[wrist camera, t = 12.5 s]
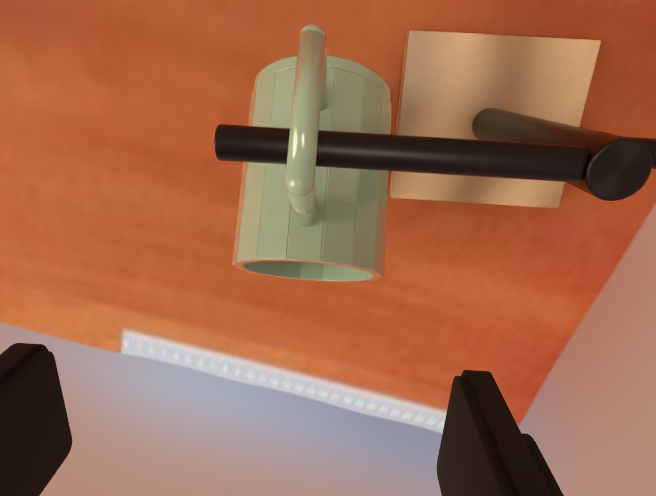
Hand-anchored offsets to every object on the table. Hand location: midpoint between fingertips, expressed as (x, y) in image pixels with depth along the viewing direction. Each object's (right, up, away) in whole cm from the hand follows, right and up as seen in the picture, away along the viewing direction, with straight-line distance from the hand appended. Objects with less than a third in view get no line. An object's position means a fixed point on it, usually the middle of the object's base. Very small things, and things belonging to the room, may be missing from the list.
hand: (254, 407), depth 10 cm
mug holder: (+8, +12, +18) cm, 23 cm away
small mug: (+1, +12, +10) cm, 15 cm away
